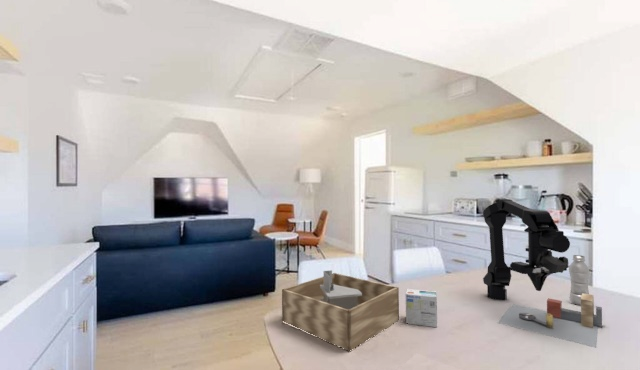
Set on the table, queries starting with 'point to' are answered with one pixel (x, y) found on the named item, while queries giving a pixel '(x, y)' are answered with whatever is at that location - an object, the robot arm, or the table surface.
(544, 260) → the robot arm
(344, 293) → the architectural model
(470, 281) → the table surface
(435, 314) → the light bulb box
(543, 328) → the board
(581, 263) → the plastic bottle
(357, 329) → the wooden crate
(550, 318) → the metal measuring spoon
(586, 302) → the tan rectangular block
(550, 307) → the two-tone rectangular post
